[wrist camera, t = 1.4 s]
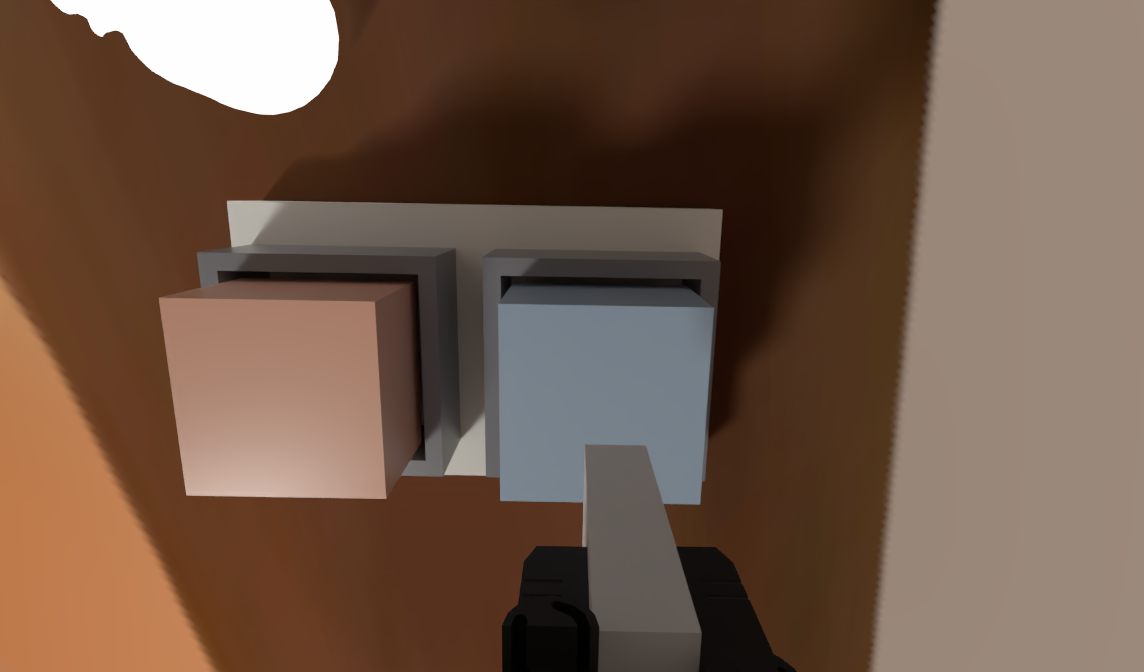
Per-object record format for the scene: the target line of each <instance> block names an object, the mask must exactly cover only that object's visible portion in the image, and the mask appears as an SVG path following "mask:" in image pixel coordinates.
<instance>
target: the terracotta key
mask: <svg viewBox="0 0 1144 672" xmlns="http://www.w3.org/2000/svg"><path fill="white" fill-rule="evenodd" d="M159 303H160V310H161V317H162V324H163V332H164V339H165V346H166V353H167V360H168V367H169V374H170V381H171V389H172V396H173V403H174V410H175V417H176V424H177V431H178V438H179V446H180V453H181V460H182V467H183V474H184V481H185V488H186V495H196V496H253V497H311V498H368V499H386V498H387V497H388V495H389V494H390V492H391V490H392V489H393V487H394V486H395V484H396V482H397V481H398V479H399V478H400V476H401V474H402V473H403V471H404V470H405V468H406V466H407V465H408V463H409V462H410V460H411V458H412V457H413V455H414V454H415V452H416V450H417V449H418V447H419V446H420V444H421V442H422V436H421V412H420V389H419V365H418V341H417V318H416V294H415V281H394V280H337V279H280V278H240V279H235V280H231V281H227V282H223V283H219V284H215V285H210V286H206V287H202V288H198V289H194V290H190V291H185V292H181V293H177V294H173V295H169V296H164V297H160V298H159Z"/></svg>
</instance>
